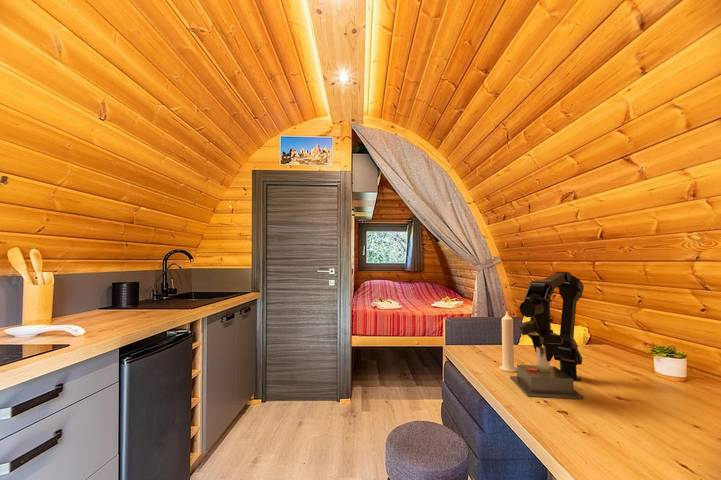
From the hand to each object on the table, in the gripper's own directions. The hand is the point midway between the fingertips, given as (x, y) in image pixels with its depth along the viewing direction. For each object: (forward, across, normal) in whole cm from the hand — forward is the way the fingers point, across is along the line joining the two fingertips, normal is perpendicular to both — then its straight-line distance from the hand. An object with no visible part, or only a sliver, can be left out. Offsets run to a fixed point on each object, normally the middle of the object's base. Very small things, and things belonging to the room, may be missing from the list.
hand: (542, 357), depth 123 cm
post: (+5, 0, 0) cm, 5 cm away
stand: (+11, 0, 0) cm, 11 cm away
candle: (+11, -20, -6) cm, 24 cm away
